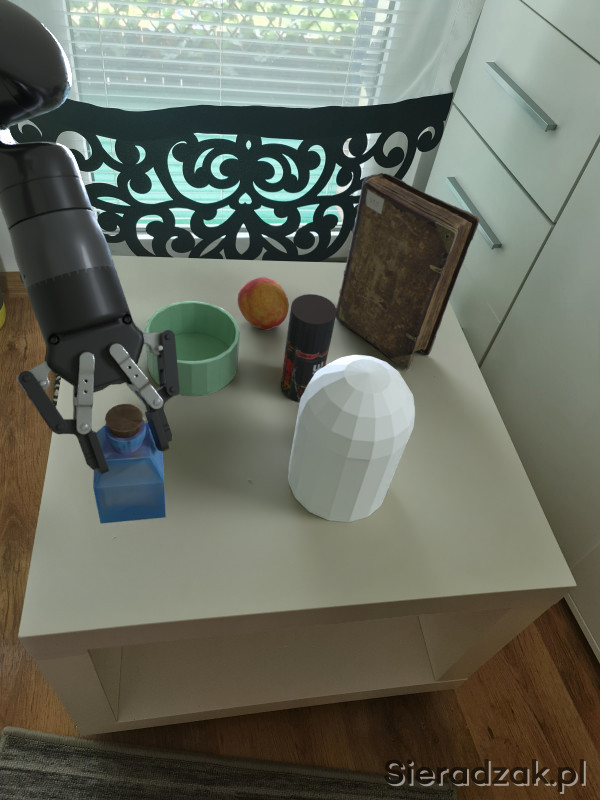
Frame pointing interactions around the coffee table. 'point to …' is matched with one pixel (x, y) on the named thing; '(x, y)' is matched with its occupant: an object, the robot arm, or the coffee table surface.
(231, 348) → the green bowl
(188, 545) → the coffee table surface
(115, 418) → the perfume bottle
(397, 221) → the book
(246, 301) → the fruit
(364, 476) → the white dome-topped cylinder
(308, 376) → the deodorant
